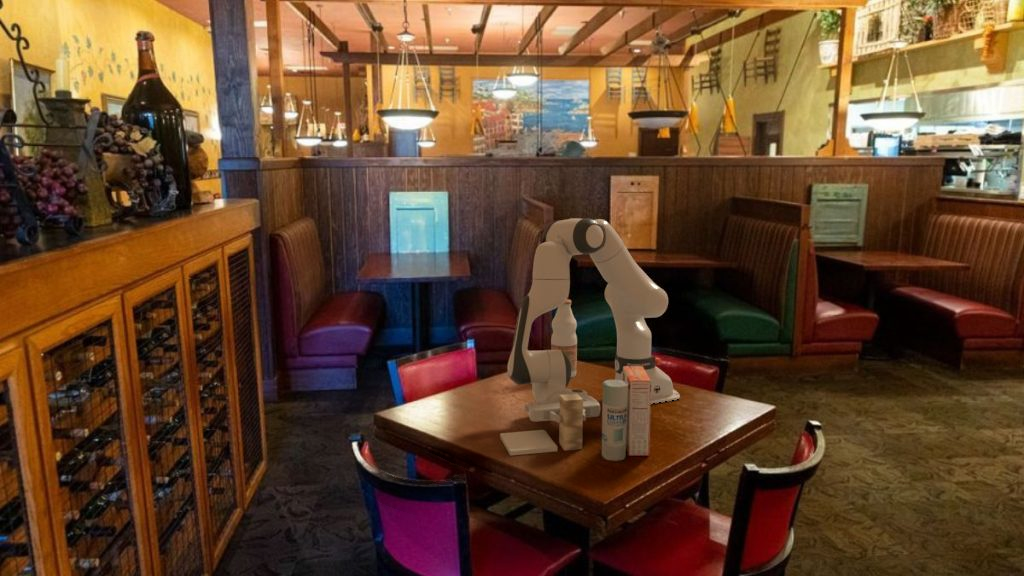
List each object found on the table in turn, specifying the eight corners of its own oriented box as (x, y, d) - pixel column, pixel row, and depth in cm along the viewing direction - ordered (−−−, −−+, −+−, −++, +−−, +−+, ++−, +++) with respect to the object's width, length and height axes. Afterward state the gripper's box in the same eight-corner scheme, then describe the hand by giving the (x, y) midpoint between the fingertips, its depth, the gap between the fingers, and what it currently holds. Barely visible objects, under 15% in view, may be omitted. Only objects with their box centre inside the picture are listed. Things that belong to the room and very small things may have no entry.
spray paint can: (605, 461, 183) (606, 387, 179) (598, 452, 189) (599, 380, 186) (629, 460, 184) (631, 386, 180) (621, 450, 190) (623, 378, 187)
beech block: (576, 442, 196) (577, 393, 193) (582, 448, 191) (583, 399, 189) (559, 443, 195) (559, 394, 192) (564, 450, 190) (565, 400, 188)
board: (544, 433, 202) (544, 429, 202) (557, 451, 189) (557, 446, 189) (499, 437, 199) (499, 433, 199) (510, 455, 187) (510, 451, 186)
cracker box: (620, 436, 200) (622, 365, 196) (641, 436, 200) (644, 365, 196) (626, 456, 186) (628, 380, 182) (649, 456, 186) (652, 380, 182)
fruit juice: (546, 376, 257) (547, 301, 253) (557, 370, 266) (558, 297, 261) (570, 380, 253) (571, 303, 248) (580, 373, 261) (581, 299, 256)
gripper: (522, 395, 201) (534, 410, 188) (590, 390, 206) (607, 405, 192) (522, 416, 202) (534, 433, 189) (590, 410, 207) (606, 427, 193)
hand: (572, 419), depth 191 cm, fingers closed on beech block, 5 cm apart
